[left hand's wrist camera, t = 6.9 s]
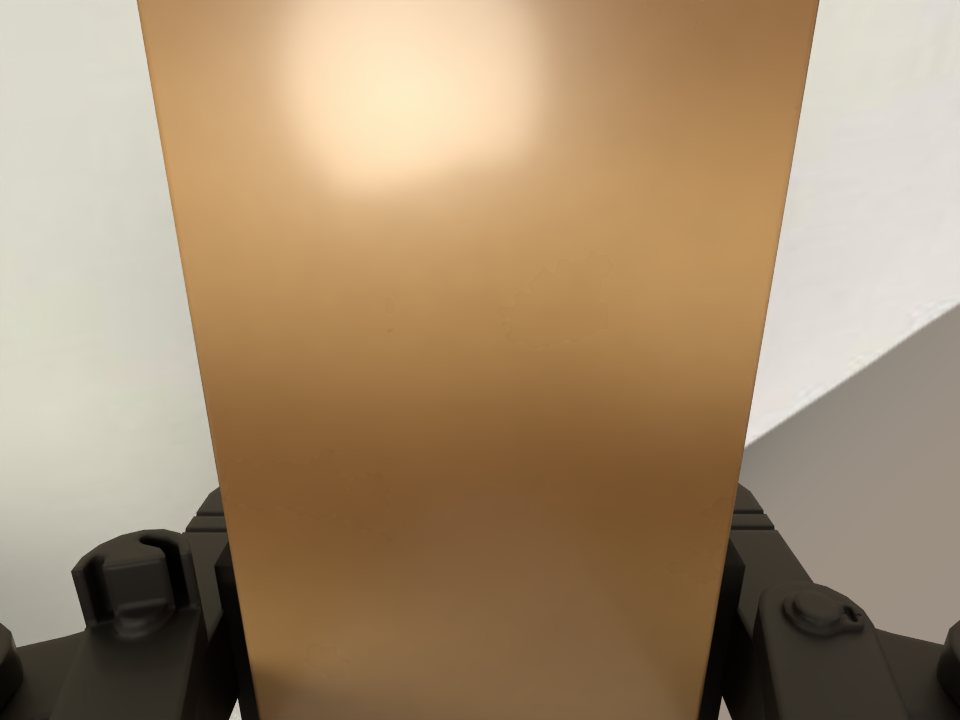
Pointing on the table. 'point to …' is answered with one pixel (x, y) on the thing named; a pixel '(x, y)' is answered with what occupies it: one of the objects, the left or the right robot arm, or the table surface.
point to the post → (478, 333)
